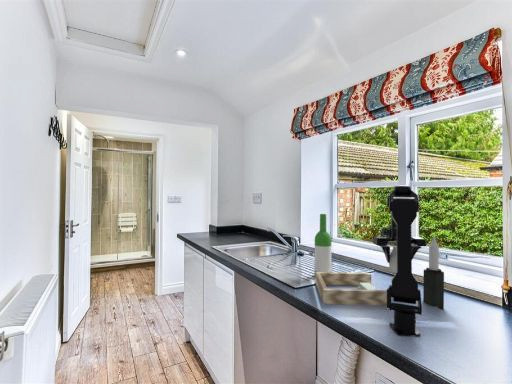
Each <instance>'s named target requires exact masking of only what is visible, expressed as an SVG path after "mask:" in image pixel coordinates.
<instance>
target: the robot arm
mask: <svg viewBox="0 0 512 384" xmlns="http://www.w3.org/2000/svg"><path fill="white" fill-rule="evenodd" d="M393 188H394V189H393V191H391V192H390V193H389V195H388V196H387V198H386V207H387V208H388V209H389V210H388V211H389V212H390V217H391V218H390V220H391V222H390V223H391V224H390V226H389V228H387V227H382V228H381V236H373V238H372V244H373V245H376V246H378V247H380V248H381V250H382V252H383V254H384V256H385V259H386V262H387V263H388V264H389V262H390V254H391V246H389V244H392V245H394V244H396V246H397V272H396V273H395V274H394V275H393V277H392V278H391V284H389V285H388V287H387V289H386V290H387V306H386V308H387V309H388V310H389V311H393V322H390V323H389V326H390V328H391V329H392V330H393V332H395V334H396V335H397V336H409V337H410V336H412V337H414V336H416V337H417V336H418V337H420V336H421V335H422V334H421V333H420V332H419V330H418V329H417V328H416V327H417V326H416V324H417V323H416V317H417V315H420V316H422V313H423V306H422V293H421V288H419V283H418V281H417V280H416V278H415V275H413V268H412V267H413V266H412V264H413V262H412V261H413V260H414V257H415V255H416V254H417V252H418V251H419V250H420V249H422V247H427V240H426V239H425V238H423V237H420V236H412V224H413V223H414V221H415V219H417V216H418V214H417V213H419V212H420V202H419V196H418V195H419V194H417V193H415V192H414V191H413V190H412V188H411V185H407V184H406V185H404V184H403V185H401V184H399V185H397V184H396V185H395V186H394V187H393ZM392 298H393V299H392ZM392 300H393V301H392ZM416 304H417V305H416Z"/></svg>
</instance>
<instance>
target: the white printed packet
mask: <svg viewBox="0 0 512 384" xmlns="http://www.w3.org/2000/svg"><path fill="white" fill-rule="evenodd" d="M388 265H389V266H388V271H389V272H391V273H395V274H396V272H397V245H396V246H393V247H392V249H391V251H390V262H389V263H388Z"/></svg>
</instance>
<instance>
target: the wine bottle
mask: <svg viewBox="0 0 512 384" xmlns="http://www.w3.org/2000/svg"><path fill="white" fill-rule="evenodd" d="M313 269H314V272H313V273H314V276H315V272H332V237H331V234H330V233H329V232H328V231H327V214H325V213H320V215H319V231H318V232H317V233H316V235H315V236H314V268H313Z"/></svg>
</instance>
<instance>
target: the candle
mask: <svg viewBox="0 0 512 384" xmlns="http://www.w3.org/2000/svg"><path fill="white" fill-rule="evenodd" d="M439 250H440V246H439V244H437V241H436V237H435V236H432V240H431V243H430V244H429V245H428V267H426V268H425V269H423V284H422V285H423V289H422V290H423V292H422V295H423V299H422V300H423V303H424V304H427V305H429V306H431V307H437V308H438V309H439V310H444V307H445V306H444V305H445V303H444V301H445V272H444V271H443V270H442V269H441V268H439V266H440V265H439V264H440V263H439V260H440V259H439V257H440V256H439V255H440V254H439V253H440V251H439Z"/></svg>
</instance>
